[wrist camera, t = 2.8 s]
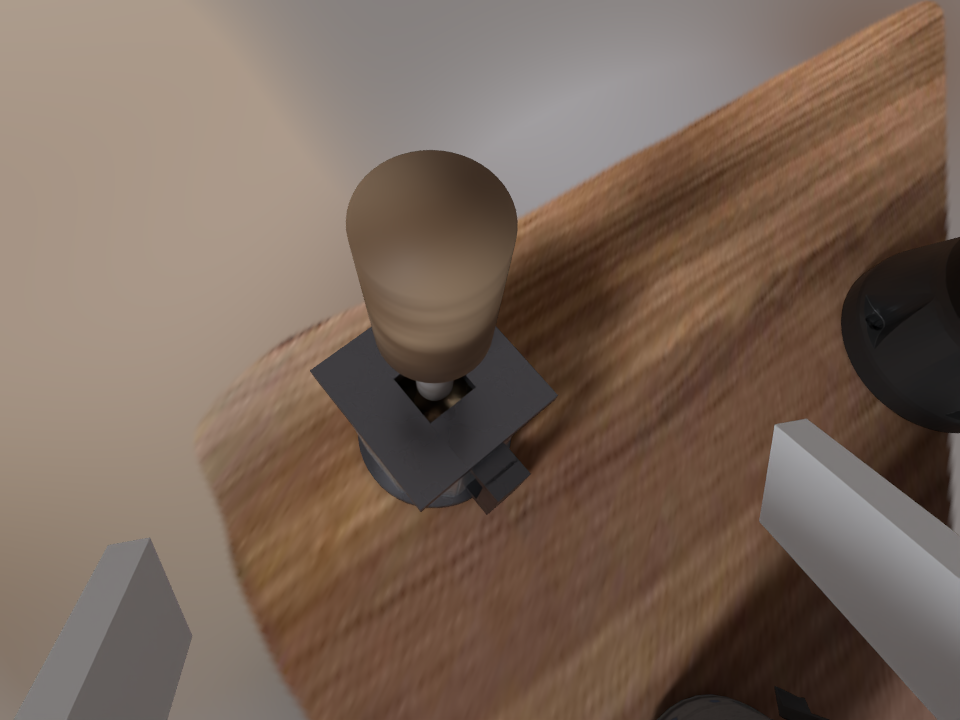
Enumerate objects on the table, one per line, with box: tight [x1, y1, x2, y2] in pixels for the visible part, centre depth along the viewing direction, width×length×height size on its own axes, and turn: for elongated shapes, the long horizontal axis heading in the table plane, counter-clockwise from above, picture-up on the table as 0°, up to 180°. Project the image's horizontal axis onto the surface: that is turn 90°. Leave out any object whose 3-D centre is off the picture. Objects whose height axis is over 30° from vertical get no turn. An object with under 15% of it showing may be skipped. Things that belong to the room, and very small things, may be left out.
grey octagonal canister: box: [310, 326, 558, 515], centre depth 38 cm, size 12×11×12 cm
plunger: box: [346, 150, 517, 401], centre depth 25 cm, size 5×5×16 cm
